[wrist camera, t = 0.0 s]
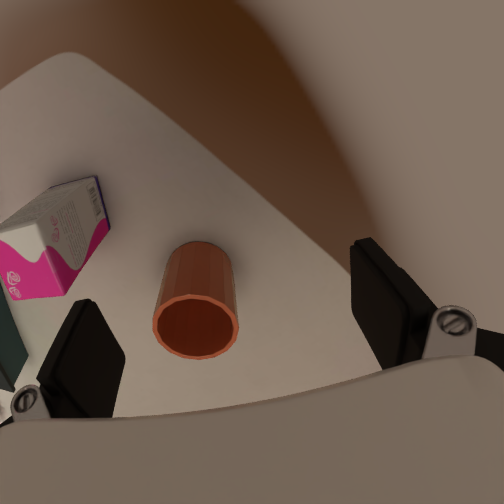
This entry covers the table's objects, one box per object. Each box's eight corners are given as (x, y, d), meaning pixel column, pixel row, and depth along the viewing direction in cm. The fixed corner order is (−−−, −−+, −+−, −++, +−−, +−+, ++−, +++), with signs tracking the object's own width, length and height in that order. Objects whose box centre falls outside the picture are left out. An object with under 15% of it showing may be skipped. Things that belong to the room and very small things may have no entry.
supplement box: (47, 187, 26) (-18, 235, 16) (97, 174, 26) (38, 220, 16) (63, 239, 29) (11, 303, 19) (112, 230, 29) (68, 297, 19)
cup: (157, 250, 31) (139, 304, 23) (224, 234, 31) (226, 286, 23) (178, 304, 34) (169, 364, 26) (238, 291, 34) (246, 351, 26)
